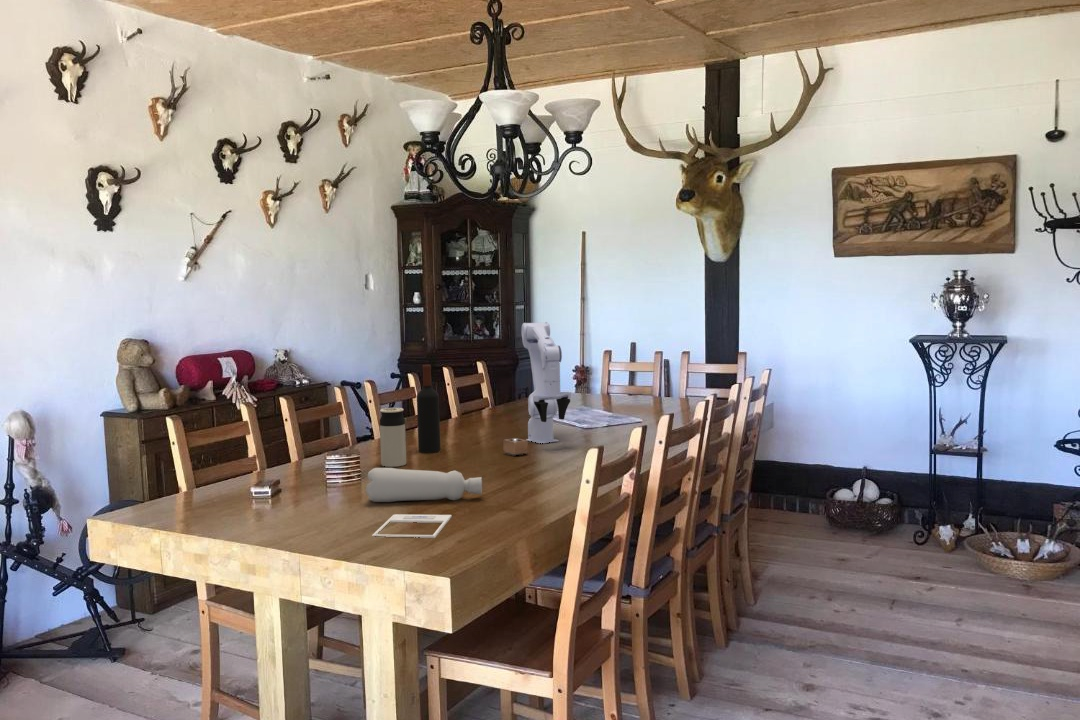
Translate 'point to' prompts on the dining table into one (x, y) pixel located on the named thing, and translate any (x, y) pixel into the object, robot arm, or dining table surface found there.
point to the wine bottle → (428, 415)
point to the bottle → (418, 485)
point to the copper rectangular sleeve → (515, 446)
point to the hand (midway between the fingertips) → (552, 420)
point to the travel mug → (392, 437)
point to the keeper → (514, 454)
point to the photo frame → (418, 519)
